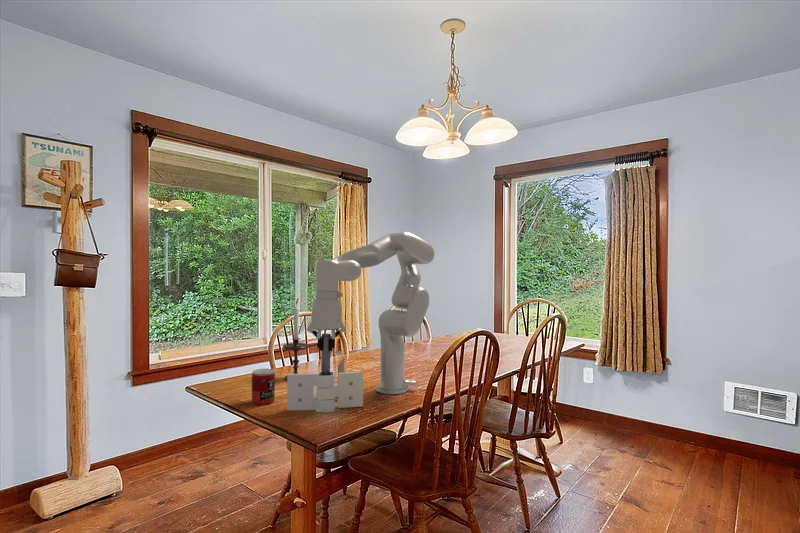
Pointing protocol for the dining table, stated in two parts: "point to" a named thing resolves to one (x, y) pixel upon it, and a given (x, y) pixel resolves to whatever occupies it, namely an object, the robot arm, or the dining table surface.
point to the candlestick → (295, 341)
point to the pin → (325, 355)
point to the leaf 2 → (345, 390)
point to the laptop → (340, 370)
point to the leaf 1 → (309, 392)
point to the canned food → (263, 386)
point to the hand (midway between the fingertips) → (326, 349)
